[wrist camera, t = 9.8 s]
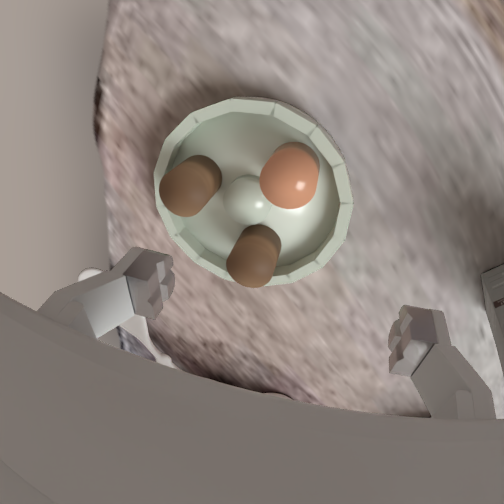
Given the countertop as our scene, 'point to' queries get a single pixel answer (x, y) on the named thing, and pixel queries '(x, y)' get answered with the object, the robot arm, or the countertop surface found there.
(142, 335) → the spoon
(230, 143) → the groove tray
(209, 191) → the seated bead
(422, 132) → the countertop surface
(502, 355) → the skincare box
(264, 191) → the loose bead
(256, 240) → the seated bead
